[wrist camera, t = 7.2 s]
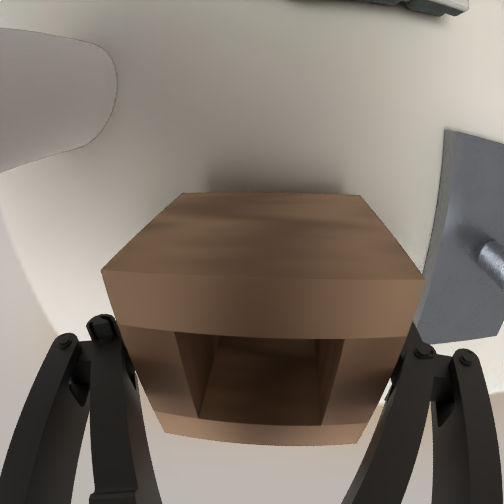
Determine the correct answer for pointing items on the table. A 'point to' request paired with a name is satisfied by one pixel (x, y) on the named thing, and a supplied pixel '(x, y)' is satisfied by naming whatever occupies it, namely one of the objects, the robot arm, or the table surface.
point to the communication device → (432, 6)
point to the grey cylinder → (51, 95)
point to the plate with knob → (465, 245)
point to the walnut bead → (264, 315)
